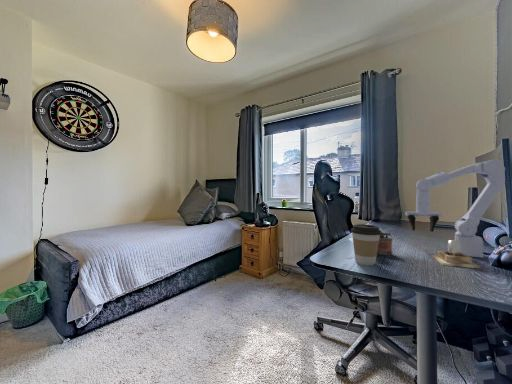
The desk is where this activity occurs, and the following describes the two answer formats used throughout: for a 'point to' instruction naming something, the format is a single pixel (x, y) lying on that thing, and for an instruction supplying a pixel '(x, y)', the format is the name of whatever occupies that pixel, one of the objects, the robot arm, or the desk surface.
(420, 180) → the robot arm
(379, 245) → the hip flask
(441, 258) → the dock socket
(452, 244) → the spigot peg
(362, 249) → the coffee cup
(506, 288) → the desk surface
